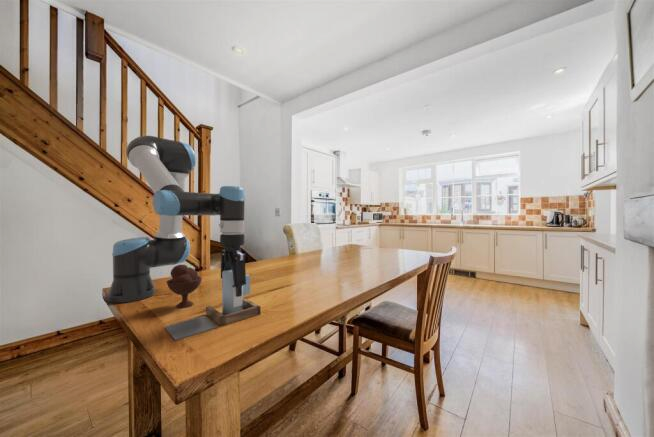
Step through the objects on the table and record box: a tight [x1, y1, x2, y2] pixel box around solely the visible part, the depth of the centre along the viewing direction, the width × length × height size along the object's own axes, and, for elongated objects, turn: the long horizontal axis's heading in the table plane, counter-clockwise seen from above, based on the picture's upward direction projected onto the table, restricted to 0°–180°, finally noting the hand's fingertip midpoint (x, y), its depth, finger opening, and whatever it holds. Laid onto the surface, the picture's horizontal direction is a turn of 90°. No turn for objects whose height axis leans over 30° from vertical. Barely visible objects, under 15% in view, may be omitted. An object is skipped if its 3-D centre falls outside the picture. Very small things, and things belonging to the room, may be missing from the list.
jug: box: [221, 269, 251, 315], centre depth 85 cm, size 6×9×14 cm
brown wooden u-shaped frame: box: [205, 297, 262, 327], centre depth 84 cm, size 13×13×2 cm
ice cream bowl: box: [166, 264, 203, 309], centre depth 92 cm, size 11×11×15 cm
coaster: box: [164, 315, 219, 341], centre depth 74 cm, size 11×11×1 cm
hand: (232, 302), depth 84 cm, fingers closed on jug, 6 cm apart
